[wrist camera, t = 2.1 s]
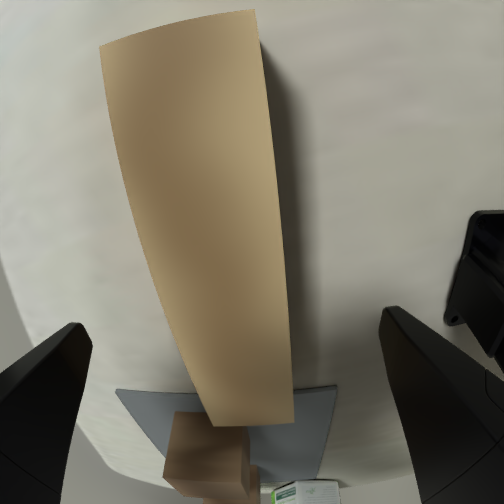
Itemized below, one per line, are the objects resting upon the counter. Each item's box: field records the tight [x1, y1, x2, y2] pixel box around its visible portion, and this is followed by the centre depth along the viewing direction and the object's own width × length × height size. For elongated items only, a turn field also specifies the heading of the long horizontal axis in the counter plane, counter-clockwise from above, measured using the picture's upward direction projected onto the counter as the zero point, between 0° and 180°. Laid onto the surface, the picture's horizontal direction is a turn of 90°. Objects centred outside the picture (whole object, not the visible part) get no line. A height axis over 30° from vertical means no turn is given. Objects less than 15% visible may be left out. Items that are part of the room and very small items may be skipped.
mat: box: [115, 386, 337, 483], centre depth 21 cm, size 14×18×1 cm
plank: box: [99, 9, 294, 426], centre depth 11 cm, size 4×16×4 cm, turn 7°
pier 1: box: [163, 411, 250, 500], centre depth 16 cm, size 4×4×5 cm
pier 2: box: [203, 465, 260, 504], centre depth 21 cm, size 4×4×5 cm
